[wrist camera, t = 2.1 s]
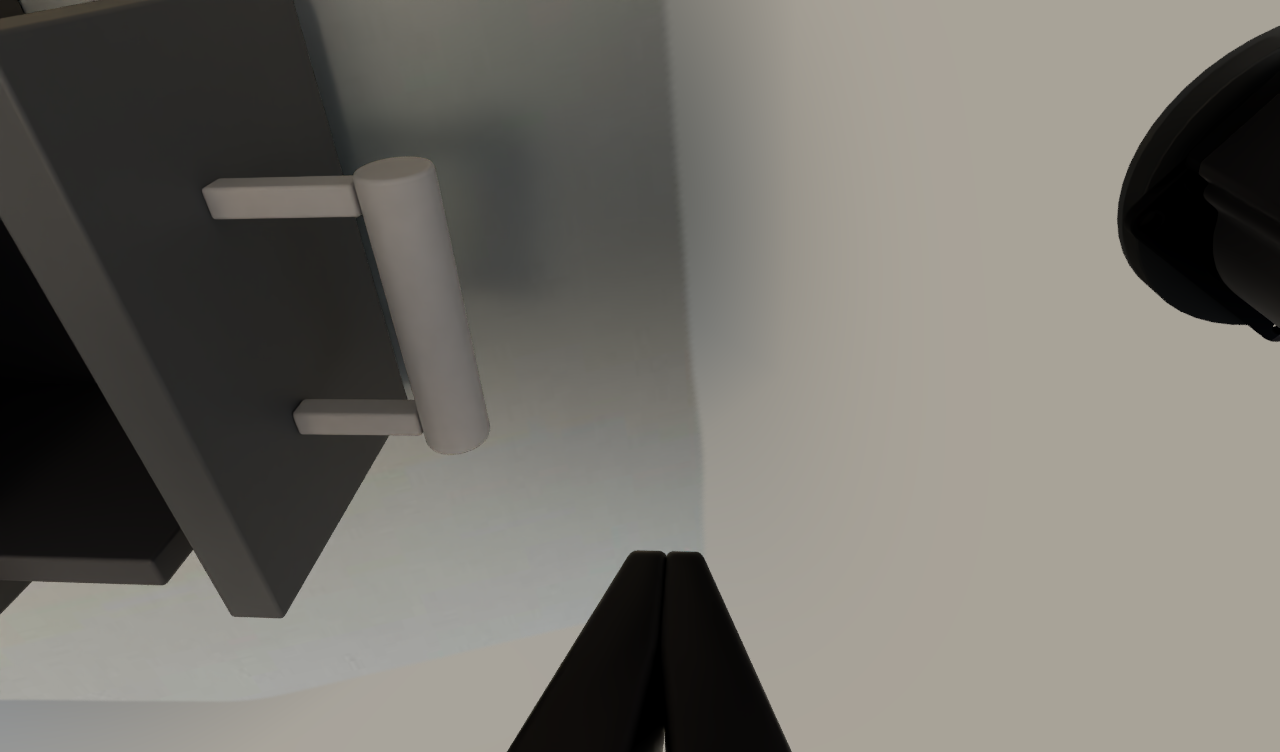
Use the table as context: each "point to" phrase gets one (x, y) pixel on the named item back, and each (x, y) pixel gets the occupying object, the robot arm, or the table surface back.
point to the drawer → (203, 302)
